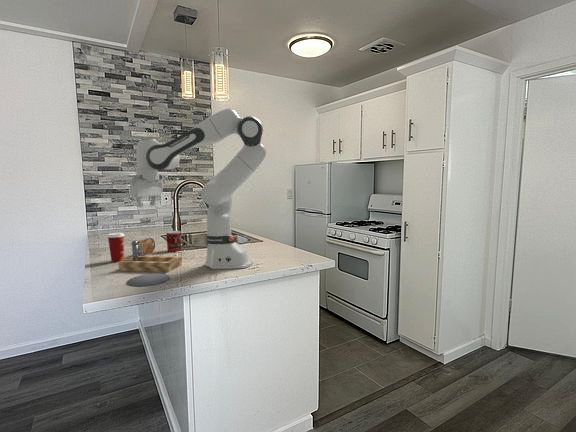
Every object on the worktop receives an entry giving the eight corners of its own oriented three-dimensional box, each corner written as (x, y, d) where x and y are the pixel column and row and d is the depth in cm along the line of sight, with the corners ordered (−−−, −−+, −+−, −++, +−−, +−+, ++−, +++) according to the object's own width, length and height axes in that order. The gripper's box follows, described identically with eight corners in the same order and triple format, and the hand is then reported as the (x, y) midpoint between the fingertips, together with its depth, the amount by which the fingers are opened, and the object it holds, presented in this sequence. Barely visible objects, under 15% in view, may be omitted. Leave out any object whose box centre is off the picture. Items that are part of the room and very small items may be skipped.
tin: (138, 257, 171) (137, 241, 170) (133, 257, 172) (132, 241, 171) (156, 251, 186) (155, 236, 185) (151, 251, 186) (150, 236, 185)
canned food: (169, 252, 181) (168, 233, 180) (165, 250, 188) (164, 231, 186) (183, 250, 186) (182, 231, 184) (179, 248, 192) (178, 230, 191)
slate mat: (177, 274, 137) (177, 273, 137) (156, 287, 121) (156, 286, 121) (142, 273, 139) (142, 273, 139) (117, 285, 123) (117, 284, 123)
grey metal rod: (142, 266, 152) (140, 239, 150) (137, 268, 148) (135, 241, 147) (135, 266, 152) (133, 239, 151) (130, 268, 149) (128, 241, 147)
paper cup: (128, 260, 163) (126, 233, 162) (111, 263, 158) (109, 235, 157) (123, 258, 169) (121, 231, 168) (107, 261, 164) (105, 233, 162)
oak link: (181, 264, 153) (181, 256, 153) (169, 271, 141) (168, 263, 141) (135, 263, 157) (134, 255, 156) (119, 270, 145) (118, 261, 145)
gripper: (139, 175, 134) (138, 208, 136) (165, 176, 154) (164, 205, 156) (125, 174, 135) (125, 207, 137) (153, 175, 155) (152, 204, 157)
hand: (146, 206), depth 147 cm, fingers open, 8 cm apart
